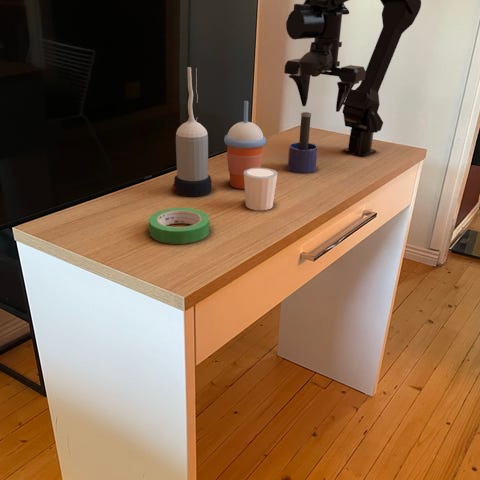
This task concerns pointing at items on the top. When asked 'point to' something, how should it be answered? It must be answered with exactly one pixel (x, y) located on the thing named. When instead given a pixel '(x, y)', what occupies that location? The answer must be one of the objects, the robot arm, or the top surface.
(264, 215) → the top surface
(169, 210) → the tape roll
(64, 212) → the top surface
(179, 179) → the humidifier
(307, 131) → the gray cylinder
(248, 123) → the cup with straw
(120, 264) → the top surface
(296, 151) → the blue cup
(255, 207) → the white tapered cup
